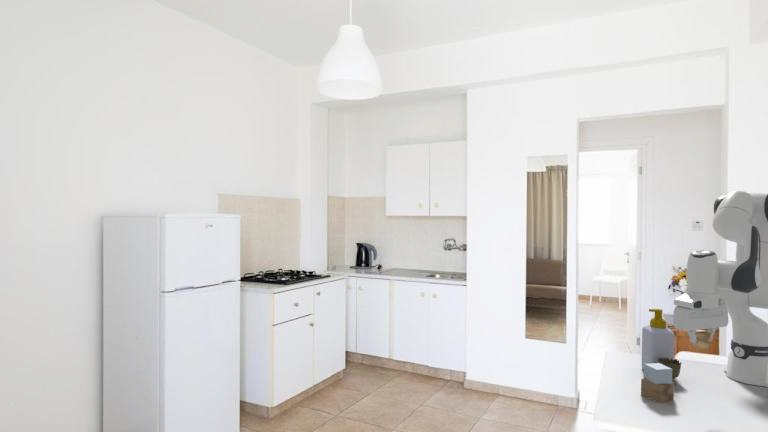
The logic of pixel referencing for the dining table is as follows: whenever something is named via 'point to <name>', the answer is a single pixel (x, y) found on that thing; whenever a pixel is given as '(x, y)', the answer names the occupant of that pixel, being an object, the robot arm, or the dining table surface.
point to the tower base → (657, 391)
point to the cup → (671, 366)
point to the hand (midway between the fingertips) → (701, 341)
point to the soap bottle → (657, 340)
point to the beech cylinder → (702, 339)
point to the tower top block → (658, 373)
